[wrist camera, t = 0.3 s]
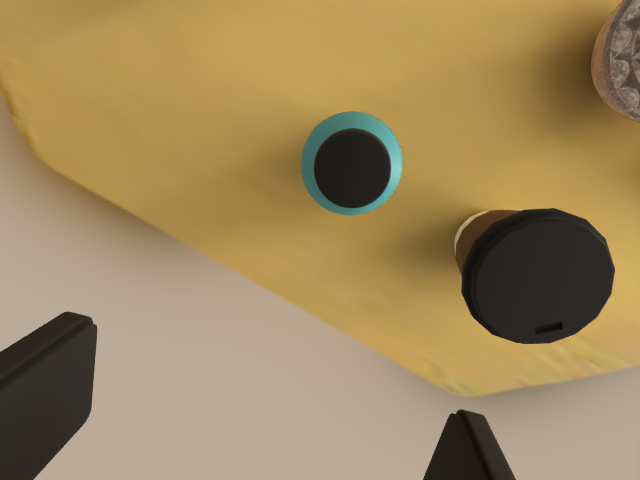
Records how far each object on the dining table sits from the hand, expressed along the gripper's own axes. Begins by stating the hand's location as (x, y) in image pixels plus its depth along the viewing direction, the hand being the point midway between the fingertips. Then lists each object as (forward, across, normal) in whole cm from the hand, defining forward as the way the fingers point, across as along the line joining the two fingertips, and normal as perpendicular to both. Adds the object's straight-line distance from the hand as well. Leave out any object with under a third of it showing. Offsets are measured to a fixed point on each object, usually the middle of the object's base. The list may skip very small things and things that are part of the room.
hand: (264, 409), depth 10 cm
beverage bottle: (+31, -1, -5) cm, 31 cm away
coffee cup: (+31, -17, 0) cm, 35 cm away
